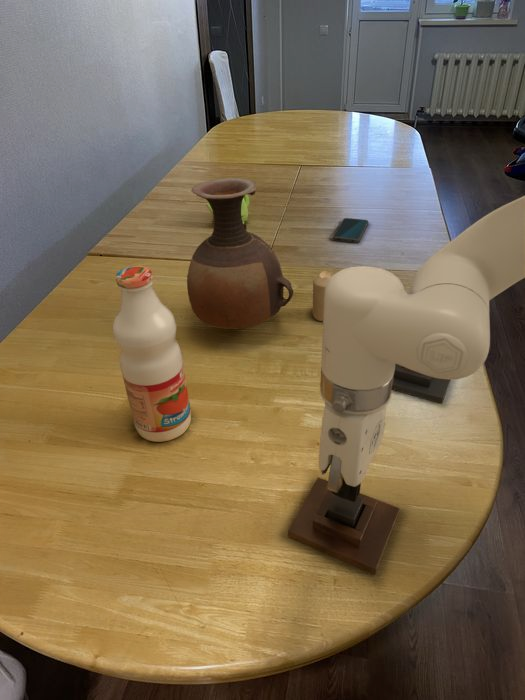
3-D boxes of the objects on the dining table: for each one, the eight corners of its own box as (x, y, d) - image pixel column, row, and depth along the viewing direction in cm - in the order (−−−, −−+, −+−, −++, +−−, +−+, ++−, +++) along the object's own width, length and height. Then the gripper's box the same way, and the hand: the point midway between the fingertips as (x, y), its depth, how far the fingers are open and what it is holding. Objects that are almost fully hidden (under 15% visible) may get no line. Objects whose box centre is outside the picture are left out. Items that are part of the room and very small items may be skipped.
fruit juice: (149, 401, 91) (117, 256, 75) (199, 408, 89) (178, 260, 73) (126, 439, 84) (85, 287, 68) (180, 447, 82) (152, 292, 66)
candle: (339, 321, 110) (341, 279, 104) (313, 322, 110) (314, 280, 104) (336, 308, 115) (338, 267, 109) (311, 309, 115) (312, 268, 109)
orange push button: (454, 371, 95) (457, 358, 93) (441, 403, 88) (444, 390, 86) (390, 354, 100) (392, 341, 98) (373, 384, 93) (375, 371, 91)
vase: (308, 327, 109) (310, 185, 91) (240, 369, 98) (228, 216, 80) (235, 292, 122) (225, 162, 105) (169, 325, 112) (145, 186, 94)
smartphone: (331, 240, 144) (331, 237, 143) (343, 220, 155) (344, 217, 155) (358, 243, 142) (359, 240, 141) (369, 222, 153) (369, 219, 153)
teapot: (215, 215, 163) (212, 184, 157) (251, 215, 162) (249, 184, 156) (208, 230, 154) (204, 197, 148) (246, 230, 152) (244, 198, 147)
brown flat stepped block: (399, 513, 70) (401, 499, 69) (375, 574, 63) (377, 560, 62) (317, 482, 75) (318, 468, 73) (287, 536, 68) (287, 521, 66)
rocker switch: (363, 507, 68) (363, 498, 67) (353, 528, 66) (354, 519, 65) (337, 497, 70) (338, 488, 69) (327, 517, 67) (327, 509, 66)
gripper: (366, 438, 48) (352, 553, 59) (410, 353, 59) (392, 463, 69) (293, 413, 51) (293, 527, 62) (348, 337, 62) (339, 445, 72)
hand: (345, 493), depth 66 cm, fingers closed
